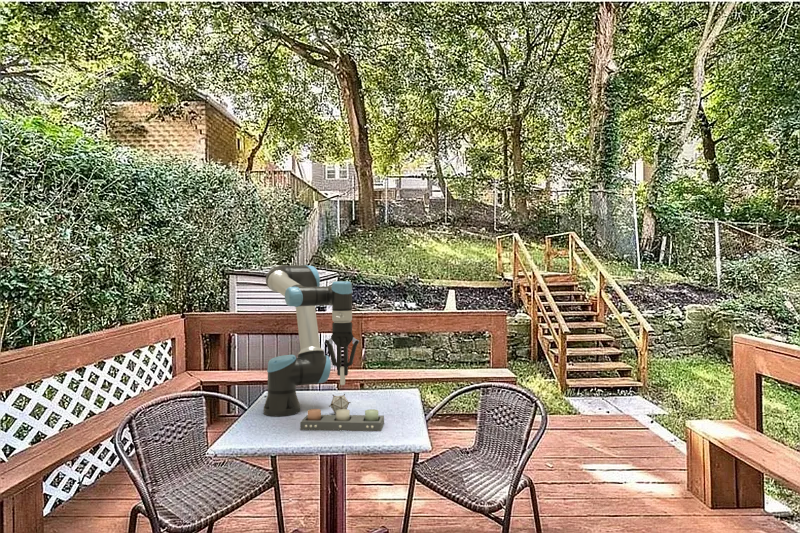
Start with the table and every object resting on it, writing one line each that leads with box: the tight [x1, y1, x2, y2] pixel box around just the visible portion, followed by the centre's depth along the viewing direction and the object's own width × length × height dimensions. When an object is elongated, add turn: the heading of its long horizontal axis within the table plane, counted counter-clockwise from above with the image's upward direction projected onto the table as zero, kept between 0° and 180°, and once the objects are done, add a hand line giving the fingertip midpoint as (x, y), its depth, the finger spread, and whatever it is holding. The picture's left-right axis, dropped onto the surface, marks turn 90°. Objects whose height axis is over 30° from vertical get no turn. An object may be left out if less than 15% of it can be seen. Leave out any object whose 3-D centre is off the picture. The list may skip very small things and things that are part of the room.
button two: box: [364, 408, 379, 421], centre depth 208 cm, size 5×5×4 cm
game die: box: [328, 393, 352, 415], centre depth 229 cm, size 9×8×10 cm
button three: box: [307, 408, 322, 420], centre depth 210 cm, size 5×5×4 cm
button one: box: [335, 408, 351, 421], centre depth 209 cm, size 5×5×4 cm
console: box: [299, 414, 385, 432], centre depth 209 cm, size 30×12×3 cm, turn 85°
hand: (342, 384), depth 209 cm, fingers closed
